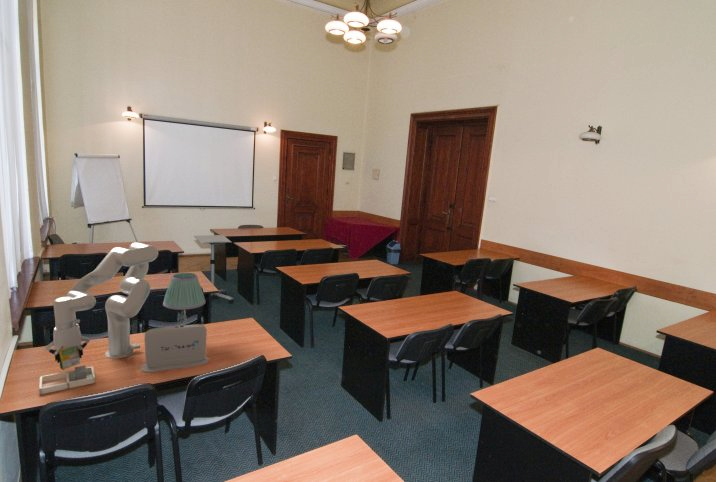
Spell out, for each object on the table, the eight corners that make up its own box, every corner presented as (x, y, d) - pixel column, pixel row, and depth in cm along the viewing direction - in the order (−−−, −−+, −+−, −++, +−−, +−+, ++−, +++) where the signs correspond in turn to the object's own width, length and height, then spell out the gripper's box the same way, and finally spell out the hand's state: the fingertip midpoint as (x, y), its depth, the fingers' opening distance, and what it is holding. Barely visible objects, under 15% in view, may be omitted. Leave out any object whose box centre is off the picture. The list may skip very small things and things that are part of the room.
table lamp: (163, 338, 226) (163, 271, 219) (204, 335, 234) (205, 270, 228) (161, 355, 206) (161, 282, 200) (205, 351, 215) (206, 280, 208)
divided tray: (93, 372, 185) (93, 366, 184) (95, 384, 176) (95, 377, 175) (40, 383, 173) (39, 376, 172) (39, 396, 164) (39, 389, 163)
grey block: (85, 375, 180) (85, 365, 180) (86, 381, 176) (86, 371, 175) (75, 377, 178) (74, 367, 177) (75, 383, 173) (75, 373, 172)
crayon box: (77, 361, 186) (75, 339, 184) (80, 363, 185) (78, 341, 183) (59, 368, 180) (57, 345, 178) (63, 370, 179) (60, 346, 176)
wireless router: (140, 374, 187) (140, 334, 184) (141, 364, 196) (140, 326, 192) (210, 364, 202) (210, 327, 198) (207, 355, 210) (208, 320, 207)
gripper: (88, 317, 186) (91, 351, 190) (41, 324, 176) (45, 360, 180) (89, 323, 181) (92, 357, 184) (41, 331, 170) (45, 368, 174)
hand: (69, 359), depth 182 cm, fingers closed on crayon box, 7 cm apart
